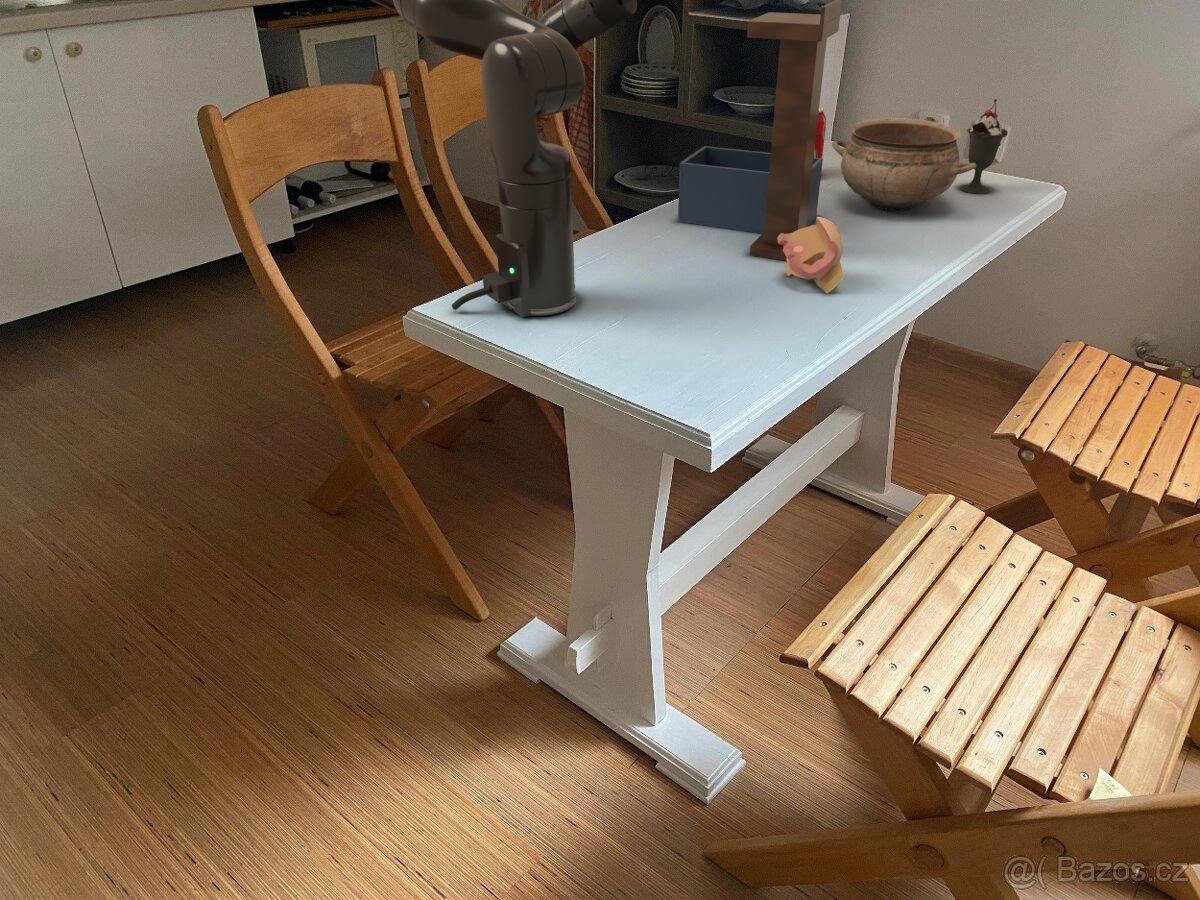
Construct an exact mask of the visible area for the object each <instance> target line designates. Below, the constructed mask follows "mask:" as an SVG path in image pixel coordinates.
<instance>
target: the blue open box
mask: <svg viewBox="0 0 1200 900" xmlns="http://www.w3.org/2000/svg"><path fill="white" fill-rule="evenodd" d="M770 158H771V152H763V151H755V150H744V149H735V148H725V147H715V146H708V145H704V146H702V147H701V148H700V149H698V150H697V151H695V152H694V153H692V154H691V155H689V156H688V157H686V158H685V159H683V160H682V161H680V162H679V171H678V172H679V173H678V176H679V177H678V181H679V182H678V204H677V206H678V208H677V209H678V210H677V222H678V223H684V224H690V225H691V224H692V225H699V226H706V227H712V228H720V229H727V230H734V231H741V232H749V233H755V234H761V235H762V234H763V232H764V229H765V217H766V205H767V193H768V182H769V170H770ZM823 162H824V159H823V157H822V158H814V159H813V168H812V177H811V186H810V195H809V204H808V213H807V222H806V227H808V226H811V224H812V222H813V221H814V220H816V217H817V213H818V205H819V196H820V187H821V180H822V179H821V178H822V169H823Z"/></svg>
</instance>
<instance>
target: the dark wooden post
mask: <svg viewBox="0 0 1200 900" xmlns="http://www.w3.org/2000/svg"><path fill="white" fill-rule="evenodd" d="M842 5H843V0H833V1H831V2H830V3H826V4H825V5H823V6H821V8H820V9H821V10H820V13H819V14H816V13H815V14H814V13H797V12H796V13H795V12H791V13H790V12H769V11H768V12H766V13H764V14H762V15H760V16H757V17H755V18H752V19H750V20H748V21H747V31H746V32H747V34H746V38H747V39H748V38H749V39H763V40H765V39H768V40H780V41H779V51H778V53H779V54H778V67H777V75H776V76H777V77H776V88H775V99H774V100H775V101H774V113H773V123H772V124H773V125H772V135H771V148H770V149H771V150H770V153H771V158H770V170H769V182H768V193H767V205H766V217H765V229H764V232H763V234H762V233H761V234H760V235H759V236H758V238H757V239H756V240H754V241H753V242H752V244H751V245H750V246H749V257H750V256H751V257H758V258H765V259H771V260H778V261H784V262H787V257H786V255H785V253H784V252H783V248H784V246H783V245H781V244H778V236H779V235H780V234H781V233H783V234H790V233H793V232H795V231H797V230H799V229H802V228H805V227H806V222H807V213H808V204H809V195H810V186H811V177H812V168H813V159H814V150H815V141H816V132H817V122H818V113H819V106H820V103H821V95H822V85H823V77H824V68H825V60H826V49H827V41H828V38H830V37H832V36H833V35H835V34H837V33H839V29H840V21H841V13H842Z"/></svg>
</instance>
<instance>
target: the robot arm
mask: <svg viewBox="0 0 1200 900" xmlns="http://www.w3.org/2000/svg"><path fill="white" fill-rule="evenodd" d="M370 1H371V2H373V3H375V4H378V5H380V6H381V7H384V8H385V9H388V10H390V11H392V12H394V13H396V14H398V15H399V16H400V18H401V19H402V20H403V21H404V23H406V24H407V25H408V26H409V27H410V28H411V29H413V30H414V31H416V32H417V33H418V34H419V35H420V36H422V38H424V39H425V40H427V41H428V42H430V43H431V44H433V45H435V46H437V47H439V48H441V49H443V50H446V51H448V52H451V53H454V54H457V55H462V56H465V57H468V58H472V59H477V60H480V61H481V70H480V71H481V72H480V73H481V74H480V75H481V88H482V97H483V104H484V111H485V117H486V126H487V135H488V142H489V147H490V151H491V154H492V158H493V160H494V163H495V169H496V178H497V191H498V192H497V193H498V204H499V216H500V229H501V233H499V234H496V236H495V244H496V256H497V257H496V258H497V265H498V268H497V269H498V271H495V272H491V273H487V274H484V275H482V285H483V286H482V287H483V288H479V289H476V290H473V291H470V292H468V293H466V294H464V295H462V296H461V297H459V298H458V299H457V300H455V301H454V302H453V303H452V304H451V308H452V309H453V310H454V311H457V310H458V309H459V308H461V307H462V306H463V305H464V304H466V303H468V302H470V301H472V300H474V299H475V300H476V299H478V298H480V297H484V296H487V297H489V298H490V299H492V300H493V301H494V302H496V303H498V304H503V305H504V306H506V308H509V310H511V311H513V312H514V313H516V314H517V315H519V316H520V317H522V318H526V317H527V318H528V317H533V316H534V317H536V316H537V317H538V316H539V317H542V316H551V315H557V314H560V313H563V312H566V311H568V310H570V309H572V308H573V307H574V306H575V305H576V303H577V292H576V281H575V280H576V277H575V252H574V226H573V225H574V224H573V222H574V221H573V220H574V219H573V196H572V194H573V193H572V191H573V190H572V168H571V166H572V165H571V162H572V161H571V155H570V153H569V151H568V150H567V149H566V148H565V147H564V146H562V145H560V144H557V143H553V142H548V141H543V140H541V139H540V137H539V132H538V131H539V130H538V125H537V119H538V118H543V117H547V116H552V115H553V116H554V115H557V114H559V113H562V112H565V111H567V110H569V109H571V108H573V107H574V106H575V105H576V104H577V103H578V102H579V100H580V99H581V97H582V96H583V94H584V90H585V87H586V75H585V69H584V65H583V62H582V60H581V58H580V55H579V54H578V51H577V49H579V48H580V47H581V46H583V45H584V44H586V43H588V42H589V41H591V40H593V39H595V38H597V37H600V36H601V35H604V34H605V33H606V32H608V31H609V30H611V29H613V28H614V27H615V26H617V25H618V24H620V23H621V22H623V21H625V20H626V19H628V18H630V17H631V16H632V15H634V14H635V13H636V11H637V8H638V0H560V1H558V2H557V3H556V4H554V5H553V6H551V7H550V8H549V9H548V10H546V11H545V12H544V13H543V14H542V15H541V16H540V19H539V21H536V20H535V19H532V18H531V17H529V16H527V15H525V14H524V13H523V14H522V13H521V12H519V11H518V10H516V9H514V8H512V7H511V6H509V5H508V4H507V3H505V2H504V1H502V0H370Z"/></svg>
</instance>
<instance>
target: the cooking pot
mask: <svg viewBox="0 0 1200 900" xmlns="http://www.w3.org/2000/svg"><path fill="white" fill-rule="evenodd" d="M849 131H850V133H851V137H850V138H849V140H848V142H846V141H844V140H842V139H835V140H833V141H832V143H831V147H832V148H833V150H835V151H836V153H837V154H838V155H839V156H841V162H840V170H841V174H842V176H843V177H842V178H843V179H844V182H845V183H846V185H847V186H848V187H849V188H850V189H851V190H852V191H853V192H854V193H855V194H857V195H858V196H860V197H861V198H863V199H864V200H866V201H868V202H869V203H871V204H872V205H873V206H874V207H876V208H878V209H882V210H887V211H898V212H899V211H907V210H911V209H912V208H914V207H917V206H919V205H921V204H924V203H926V202H929V201H932V200H933V199H936V198H938V197H939V196H941V195H942V194H943V193H944V192H946V191H947V190H949V189H950V188H951V186H952V185H953V183H954V181H955V180H956V179H957V177H958V175H962V174H964V173H967V172H970V171H973V170H975V168H976V164H975V163H969V162H968V163H961V162H960V152H959V147H958V143H957V140H959V139H960V138H961V136H962V132H961V131H960V130H959V129H957V128H956V127H954V126H952V125H948V124H946V123H942V122H938V121H934V120H933V121H931V120H925V119H919V118H917V119H916V118H900V117H888V118H886V117H885V118H873V119H866V120H862V121H858V122H856V123H854V124H852V125H851V126H849Z"/></svg>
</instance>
